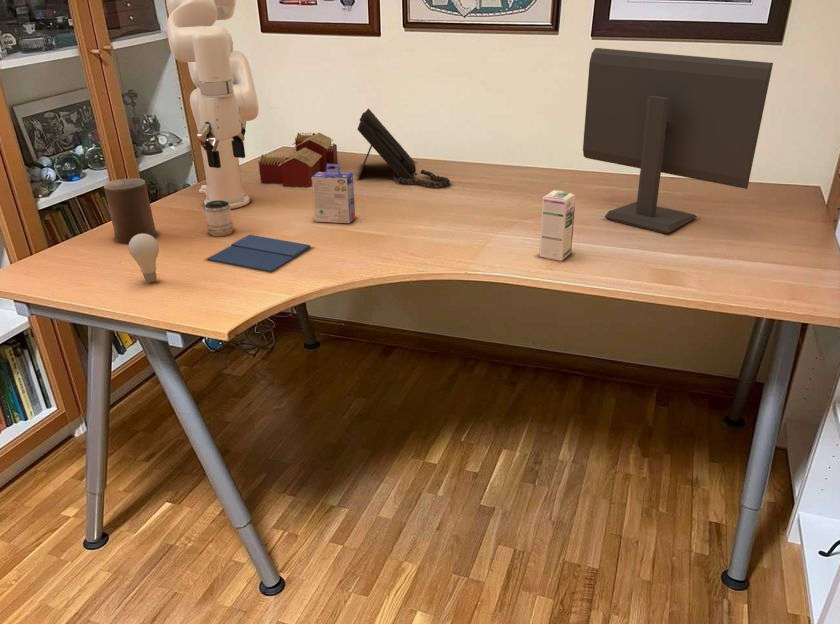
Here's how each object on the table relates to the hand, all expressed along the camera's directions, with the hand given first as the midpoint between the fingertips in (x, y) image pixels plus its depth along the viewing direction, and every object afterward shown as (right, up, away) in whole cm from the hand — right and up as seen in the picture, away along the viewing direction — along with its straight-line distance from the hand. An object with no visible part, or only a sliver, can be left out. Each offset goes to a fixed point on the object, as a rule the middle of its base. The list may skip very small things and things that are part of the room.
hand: (227, 162), depth 173 cm
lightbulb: (-12, -31, -18) cm, 38 cm away
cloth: (+9, -23, -5) cm, 25 cm away
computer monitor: (+107, -12, +13) cm, 109 cm away
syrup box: (+78, -24, -8) cm, 82 cm away
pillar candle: (-25, -17, +7) cm, 31 cm away
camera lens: (-4, -16, +9) cm, 18 cm away
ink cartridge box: (+25, -11, +16) cm, 31 cm away
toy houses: (+9, +15, +62) cm, 65 cm away
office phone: (+42, +9, +52) cm, 67 cm away
